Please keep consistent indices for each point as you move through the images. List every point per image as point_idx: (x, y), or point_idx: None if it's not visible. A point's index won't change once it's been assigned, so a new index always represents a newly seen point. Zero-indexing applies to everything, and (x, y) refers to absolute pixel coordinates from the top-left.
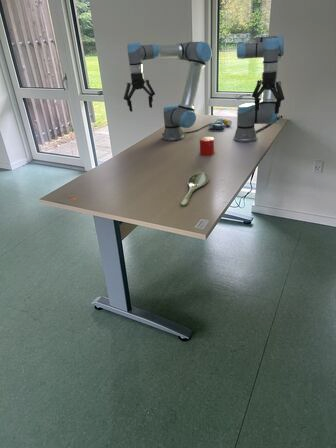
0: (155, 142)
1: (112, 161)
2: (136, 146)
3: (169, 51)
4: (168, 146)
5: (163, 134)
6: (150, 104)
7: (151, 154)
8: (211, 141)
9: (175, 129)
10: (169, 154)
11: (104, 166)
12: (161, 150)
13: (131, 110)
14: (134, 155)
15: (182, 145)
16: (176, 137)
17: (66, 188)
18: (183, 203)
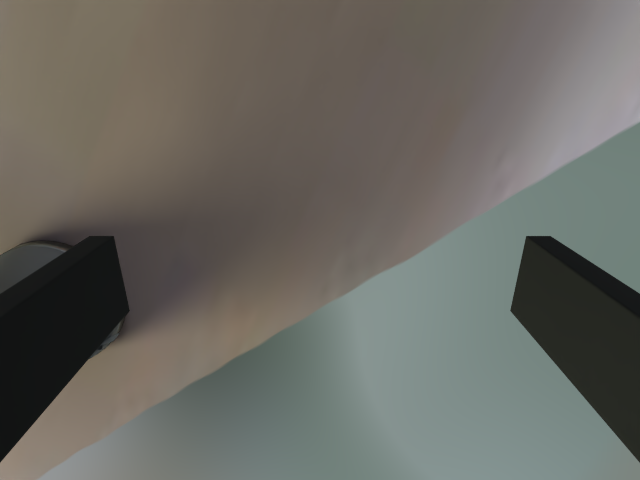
0: (189, 295)
1: (548, 158)
2: (311, 304)
3: None
4: (143, 175)
5: (107, 338)
6: (81, 282)
7: (299, 106)
8: None
9: (6, 287)
10: (195, 14)
11: (632, 106)
12: (212, 134)
13: (558, 244)
14: (394, 166)
15: (50, 128)
16: (44, 250)
17: None
18: None
